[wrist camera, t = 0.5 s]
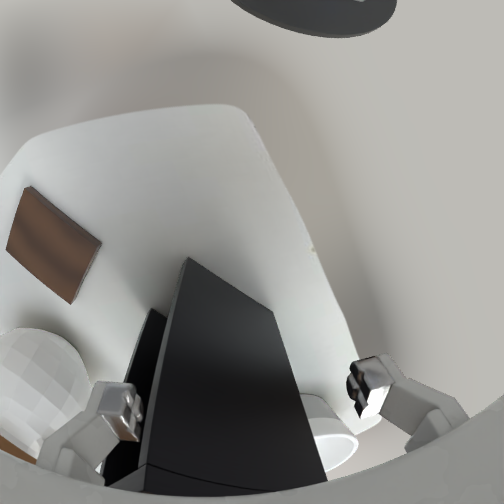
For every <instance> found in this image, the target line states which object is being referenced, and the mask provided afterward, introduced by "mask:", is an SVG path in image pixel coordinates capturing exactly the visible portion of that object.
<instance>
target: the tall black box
mask: <svg viewBox="0 0 504 504" xmlns="http://www.w3.org/2000/svg"><path fill="white" fill-rule="evenodd" d="M123 383H131V384H134V385H135V387H136V389H137V391H136V394H137V395H138V396H140V397H141V399H142V401H143V405H144V417H143V420H142V421H141V422H140V423H139V425H140V427H141V428H142V429H141V434H140V440H139V442H136V441H124V440H119V443H118V444H117V445H116V446H115V447H114V448H113V449H112V451H111V452H110V453H109V454H108V455H107V456H106V458H105V459H104V460H103V461H102V465H101V469H100V475H101V476H102V477H103V478H104V479H105V483H104V486H105V487H110V488H115V489H120V490H126V491H132V492H139V493H147V494H156V495H167V496H183V497H225V496H242V495H253V494H262V493H270V492H277V491H284V490H290V489H295V488H300V487H305V486H310V485H314V484H319V483H323V482H327V481H328V480H327V477H326V474H325V470H324V467H323V464H322V461H321V458H320V455H319V452H318V449H317V446H316V443H315V440H314V436H313V433H312V430H311V427H310V424H309V421H308V418H307V415H306V412H305V409H304V406H303V403H302V400H301V396H300V393H299V390H298V387H297V384H296V381H295V378H294V375H293V372H292V369H291V366H290V363H289V360H288V356H287V353H286V350H285V347H284V344H283V341H282V338H281V335H280V332H279V329H278V326H277V323H276V320H275V317H274V314H273V312H272V311H270V310H269V309H267V308H266V307H264V306H263V305H261V304H259V303H258V302H256V301H255V300H253V299H252V298H250V297H248V296H247V295H245V294H244V293H242V292H241V291H239V290H238V289H236V288H235V287H233V286H232V285H230V284H228V283H227V282H225V281H224V280H222V279H221V278H219V277H218V276H216V275H215V274H213V273H212V272H210V271H209V270H207V269H206V268H204V267H203V266H201V265H200V264H198V263H197V262H196V261H194V260H193V259H191V258H190V257H187V259H186V260H185V261H184V263H183V265H182V268H181V272H180V275H179V279H178V282H177V286H176V289H175V293H174V297H173V300H172V304H171V308H170V312H169V316H168V318H166V317H165V316H163V315H161V314H160V313H158V312H157V311H155V310H153V309H152V308H151V309H150V310H149V312H148V313H147V315H146V318H145V321H144V323H143V326H142V329H141V332H140V334H139V337H138V340H137V343H136V346H135V349H134V352H133V355H132V357H131V360H130V364H129V367H128V370H127V373H126V376H125V379H124V382H123Z"/></svg>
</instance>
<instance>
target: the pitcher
mask: <svg viewBox="0 0 504 504" xmlns="http://www.w3.org/2000/svg"><path fill="white" fill-rule="evenodd" d="M91 393H92V388H91V385H90V381H89V378H88V375H87V371H86V369H85V366H84V364H83V361H82V359H81V357H80V355H79V353H78V351H77V350H76V349H75V348H74V347H73V346H72V345H71V344H70V343H69V342H68V341H67V340H65V339H64V338H62V337H61V336H59V335H56V334H54V333H51V332H48V331H45V330H42V329H33V328H19V327H18V328H16V329H14V330H11V331H9V332H7V333H5V334H3V335H1V336H0V435H1V436H3V437H4V438H5V439H7V440H8V441H10V442H11V443H12V444H14V445H15V446H17V447H18V448H20V449H21V450H23V451H24V452H26V453H27V454H29V455H30V456H32V457H34V458H35V459H37V458H38V455H39V453H40V450H41V447H42V444H43V442H44V440H45V439H46V438H48V437H49V436H50V435H52V434H53V433H54V432H55V431H57V430H58V429H59V428H61V427H62V426H63V425H64V424H66V423H67V422H68V421H69V420H71V419H72V418H73V417H75V416H76V415H77V414H78V413H80V412H81V411H85V409H86V406H87V403H88V400H89V398H90V395H91Z"/></svg>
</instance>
